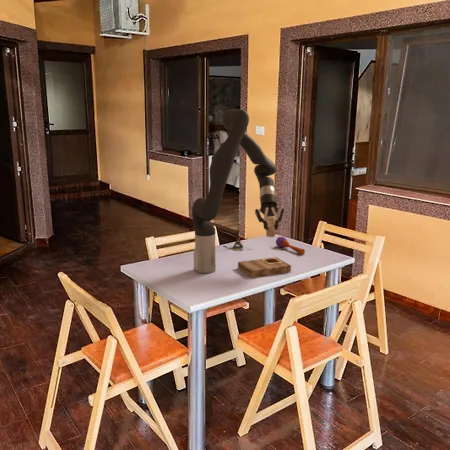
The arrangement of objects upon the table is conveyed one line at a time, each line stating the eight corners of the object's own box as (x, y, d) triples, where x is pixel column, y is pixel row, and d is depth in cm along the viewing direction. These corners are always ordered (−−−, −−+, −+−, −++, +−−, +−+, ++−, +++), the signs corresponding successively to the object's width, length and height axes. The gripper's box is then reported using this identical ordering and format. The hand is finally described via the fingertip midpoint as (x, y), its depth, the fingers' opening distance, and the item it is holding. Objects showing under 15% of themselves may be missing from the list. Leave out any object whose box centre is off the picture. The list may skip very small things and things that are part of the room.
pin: (268, 237, 216) (268, 218, 213) (264, 235, 219) (264, 216, 217) (276, 236, 217) (276, 217, 215) (272, 234, 221) (272, 215, 219)
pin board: (251, 277, 210) (251, 270, 209) (237, 268, 222) (238, 261, 221) (290, 271, 217) (291, 265, 216) (275, 263, 230) (276, 256, 229)
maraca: (297, 248, 240) (273, 237, 256) (298, 259, 242) (274, 247, 259) (306, 245, 243) (282, 233, 259) (307, 255, 245) (282, 243, 261)
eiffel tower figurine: (221, 246, 259) (221, 222, 256) (235, 243, 265) (235, 220, 262) (238, 253, 248) (238, 228, 245) (253, 249, 254) (253, 225, 251)
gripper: (253, 193, 221) (256, 225, 212) (284, 192, 221) (288, 224, 212) (252, 202, 227) (255, 233, 218) (282, 201, 228) (286, 232, 219)
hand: (271, 228), depth 215 cm, fingers closed on pin, 4 cm apart
